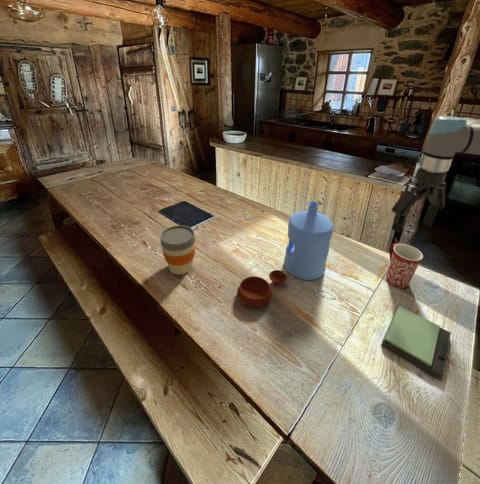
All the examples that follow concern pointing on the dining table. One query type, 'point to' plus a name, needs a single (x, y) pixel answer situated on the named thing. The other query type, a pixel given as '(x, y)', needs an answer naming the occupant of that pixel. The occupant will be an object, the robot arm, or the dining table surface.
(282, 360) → the dining table surface
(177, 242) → the reusable coffee cup
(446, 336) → the scale
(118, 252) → the dining table surface
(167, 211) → the dining table surface
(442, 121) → the robot arm
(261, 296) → the pottery
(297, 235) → the water jug
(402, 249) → the mug
